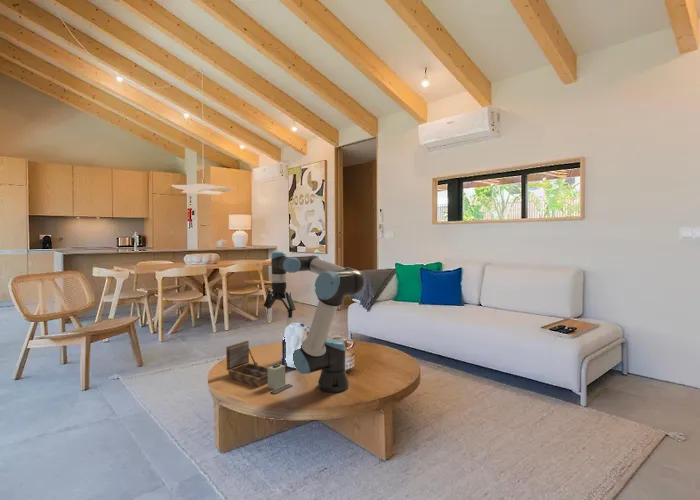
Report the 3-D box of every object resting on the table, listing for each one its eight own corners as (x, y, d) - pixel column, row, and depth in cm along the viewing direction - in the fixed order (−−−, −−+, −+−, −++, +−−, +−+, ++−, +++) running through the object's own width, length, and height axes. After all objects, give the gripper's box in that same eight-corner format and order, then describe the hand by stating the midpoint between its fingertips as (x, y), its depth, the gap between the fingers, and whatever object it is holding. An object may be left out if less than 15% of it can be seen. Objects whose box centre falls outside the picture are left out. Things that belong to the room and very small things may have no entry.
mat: (292, 386, 205) (292, 385, 205) (275, 394, 195) (275, 393, 195) (277, 382, 211) (277, 380, 211) (260, 389, 201) (260, 388, 201)
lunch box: (296, 355, 254) (295, 320, 253) (312, 356, 252) (312, 320, 251) (279, 371, 227) (279, 331, 226) (297, 372, 225) (297, 332, 224)
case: (279, 380, 213) (278, 347, 212) (258, 389, 202) (258, 354, 201) (247, 371, 226) (247, 340, 225) (226, 379, 215) (226, 346, 214)
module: (285, 385, 205) (285, 364, 204) (275, 390, 199) (275, 368, 198) (278, 383, 207) (277, 362, 207) (267, 388, 202) (267, 366, 201)
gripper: (302, 282, 213) (302, 323, 214) (266, 279, 226) (267, 317, 228) (292, 284, 206) (292, 326, 208) (256, 280, 220) (257, 320, 221)
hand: (279, 322), depth 218 cm, fingers open, 13 cm apart
